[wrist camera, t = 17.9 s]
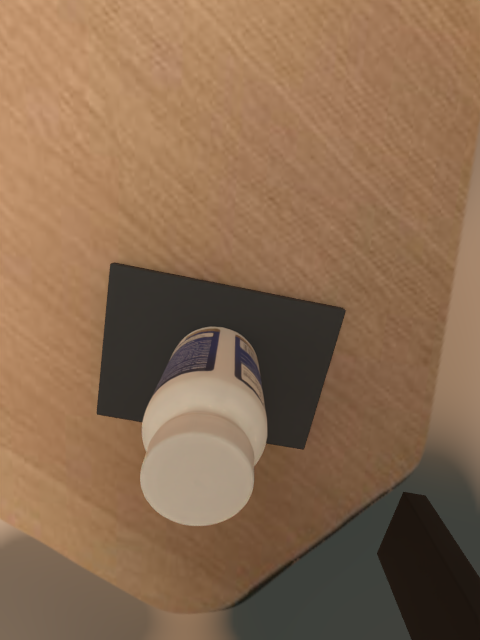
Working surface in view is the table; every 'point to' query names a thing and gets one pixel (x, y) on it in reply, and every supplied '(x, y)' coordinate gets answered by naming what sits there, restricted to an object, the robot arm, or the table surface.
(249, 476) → the pill bottle
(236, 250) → the table surface
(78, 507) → the table surface
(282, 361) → the mat
